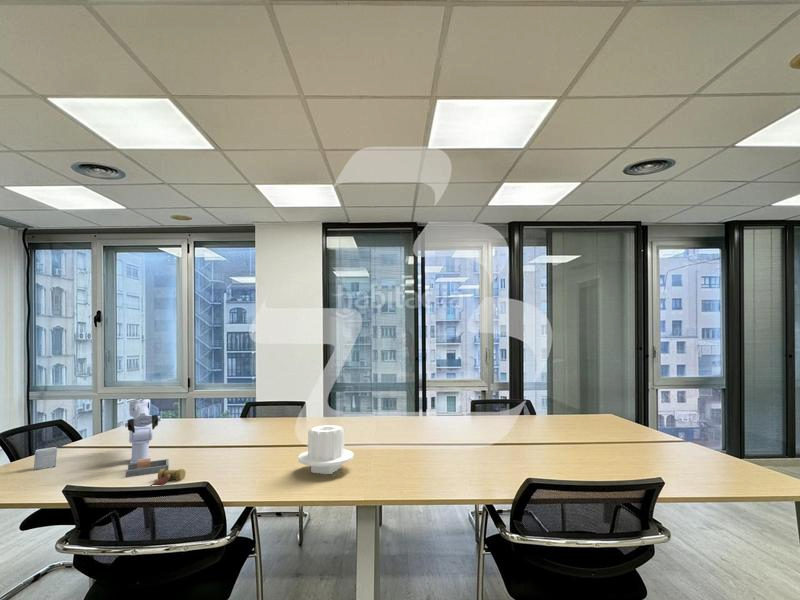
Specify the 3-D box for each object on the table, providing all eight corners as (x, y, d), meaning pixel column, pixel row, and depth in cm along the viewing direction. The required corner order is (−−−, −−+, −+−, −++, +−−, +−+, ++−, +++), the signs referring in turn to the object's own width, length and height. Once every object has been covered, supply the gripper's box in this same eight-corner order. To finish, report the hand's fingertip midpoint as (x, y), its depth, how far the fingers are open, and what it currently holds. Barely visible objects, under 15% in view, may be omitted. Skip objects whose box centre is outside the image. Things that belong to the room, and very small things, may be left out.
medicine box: (55, 464, 204) (56, 446, 205) (56, 466, 201) (57, 448, 202) (33, 468, 199) (34, 449, 199) (34, 470, 195) (35, 451, 196)
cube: (137, 470, 195) (138, 459, 195) (150, 468, 197) (150, 458, 198) (136, 473, 190) (137, 462, 191) (149, 471, 193) (150, 460, 193)
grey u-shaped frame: (128, 469, 196) (128, 464, 196) (168, 464, 204) (168, 458, 204) (125, 477, 185) (126, 471, 186) (168, 471, 193) (168, 465, 194)
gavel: (155, 488, 163) (131, 487, 164) (155, 499, 163) (131, 499, 164) (185, 467, 184) (163, 467, 185) (185, 478, 184) (163, 477, 184)
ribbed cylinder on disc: (336, 482, 177) (337, 436, 178) (286, 476, 185) (287, 432, 187) (362, 465, 200) (362, 424, 202) (316, 460, 209) (317, 421, 210)
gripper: (124, 411, 201) (124, 424, 190) (159, 406, 209) (161, 418, 198) (125, 425, 202) (125, 438, 191) (159, 419, 210) (161, 431, 199)
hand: (143, 429), depth 194 cm, fingers open, 7 cm apart
